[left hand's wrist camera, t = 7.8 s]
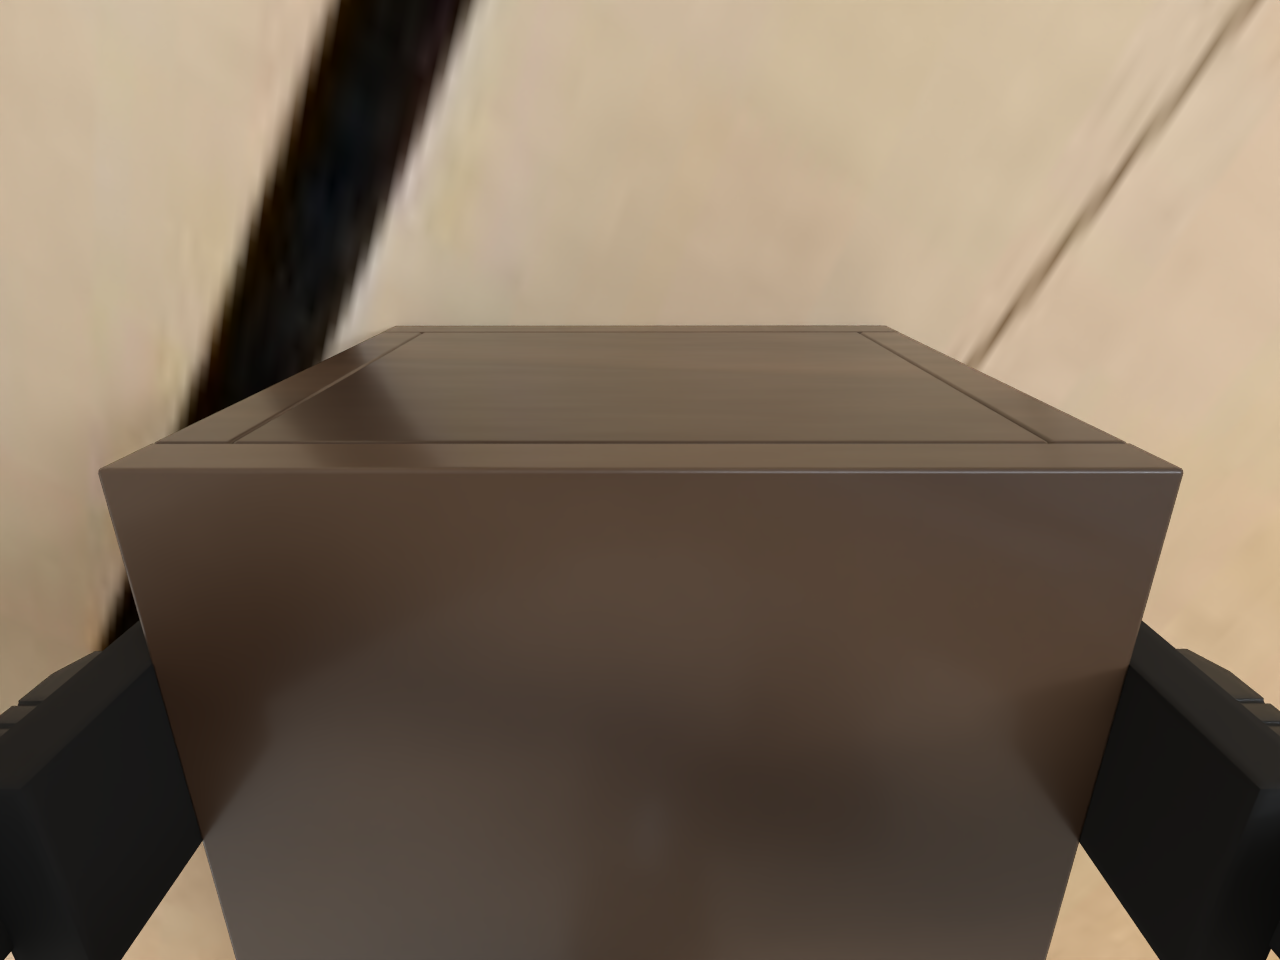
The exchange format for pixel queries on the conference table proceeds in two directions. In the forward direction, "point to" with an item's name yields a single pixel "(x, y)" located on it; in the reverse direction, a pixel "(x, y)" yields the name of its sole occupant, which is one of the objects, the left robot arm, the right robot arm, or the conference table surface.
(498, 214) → the conference table surface
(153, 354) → the conference table surface
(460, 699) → the cabinet
